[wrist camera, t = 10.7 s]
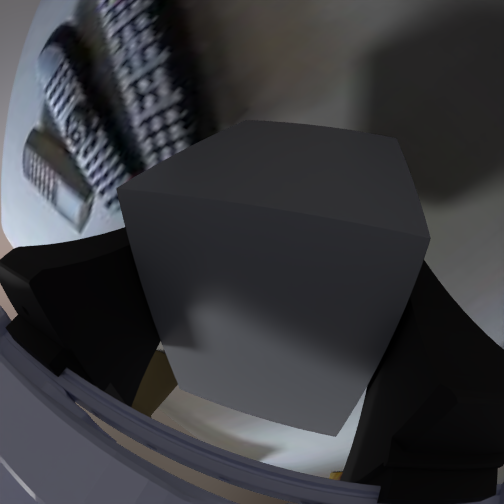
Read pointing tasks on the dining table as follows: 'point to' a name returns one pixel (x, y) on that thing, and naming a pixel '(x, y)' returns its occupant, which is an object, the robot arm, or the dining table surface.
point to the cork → (155, 385)
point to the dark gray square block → (278, 265)
